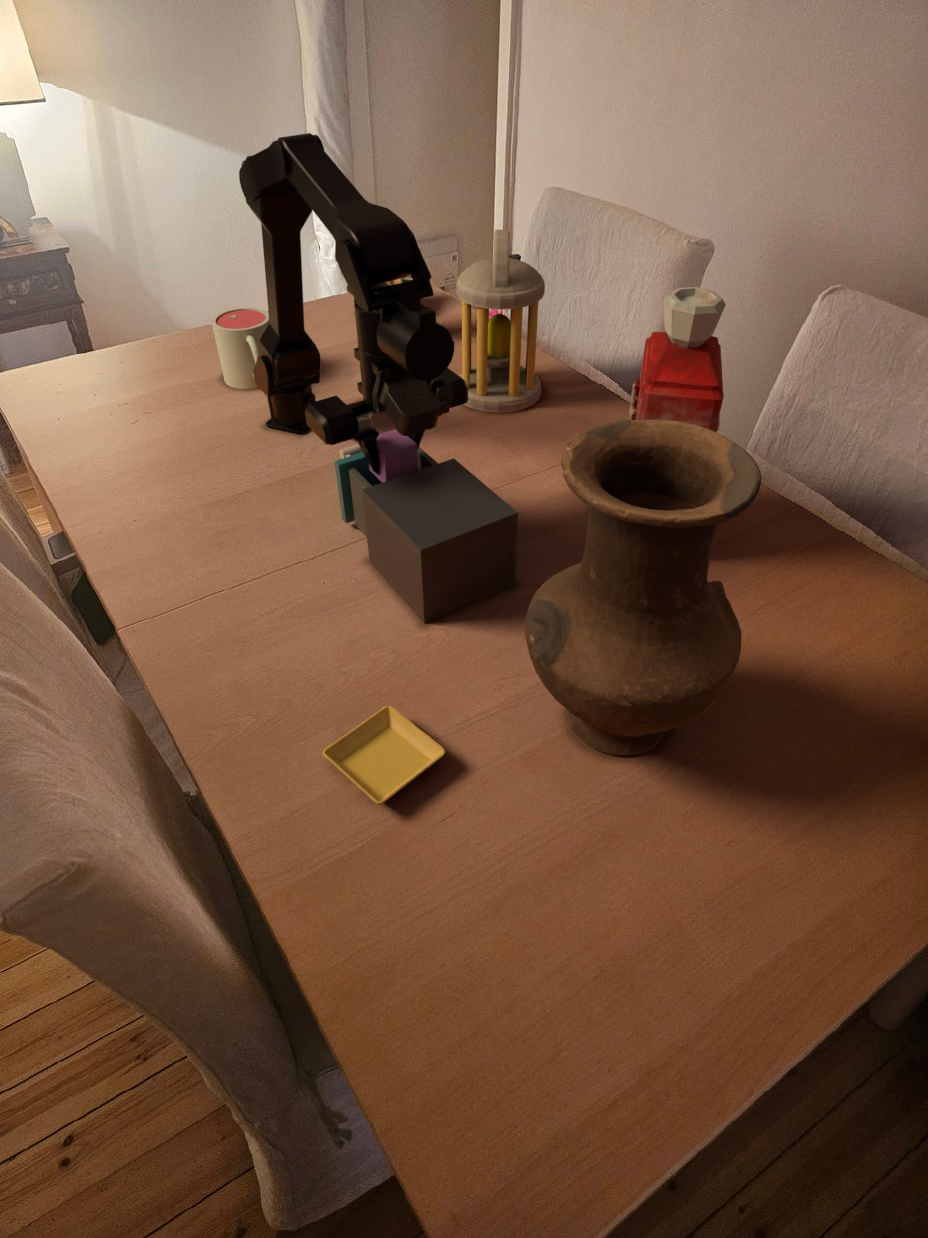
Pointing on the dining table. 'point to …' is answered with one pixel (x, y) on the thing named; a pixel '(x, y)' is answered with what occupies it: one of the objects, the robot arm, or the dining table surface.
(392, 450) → the pink cube
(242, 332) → the mug
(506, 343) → the lantern
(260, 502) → the dining table surface
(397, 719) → the yellow square dish
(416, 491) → the dark grey box-shaped block
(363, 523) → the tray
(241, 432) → the dining table surface
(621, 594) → the vase
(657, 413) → the bottle
